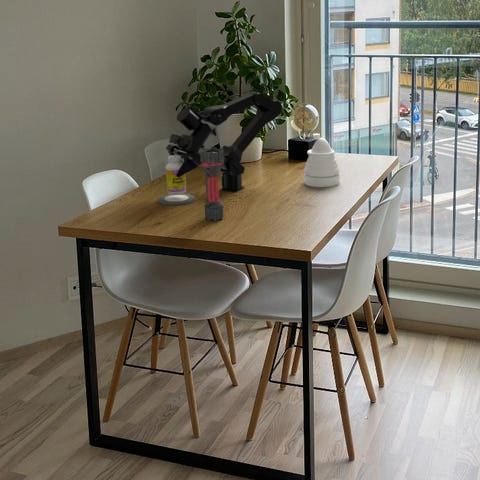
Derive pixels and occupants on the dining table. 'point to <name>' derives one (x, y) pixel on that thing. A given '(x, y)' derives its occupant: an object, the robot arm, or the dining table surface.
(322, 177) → the honey pot
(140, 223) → the dining table surface
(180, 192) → the supplement bottle
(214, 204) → the flashlight
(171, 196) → the dock pad
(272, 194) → the dining table surface
